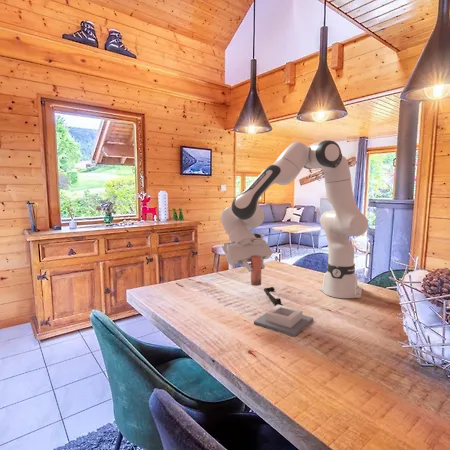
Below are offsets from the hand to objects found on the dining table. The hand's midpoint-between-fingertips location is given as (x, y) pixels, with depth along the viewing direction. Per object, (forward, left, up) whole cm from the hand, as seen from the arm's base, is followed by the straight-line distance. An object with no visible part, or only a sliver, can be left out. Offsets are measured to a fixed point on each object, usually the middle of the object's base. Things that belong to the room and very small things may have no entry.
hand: (257, 269), depth 116 cm
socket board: (0, +12, -18) cm, 21 cm away
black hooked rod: (-17, -1, -18) cm, 25 cm away
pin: (0, -1, -6) cm, 6 cm away
